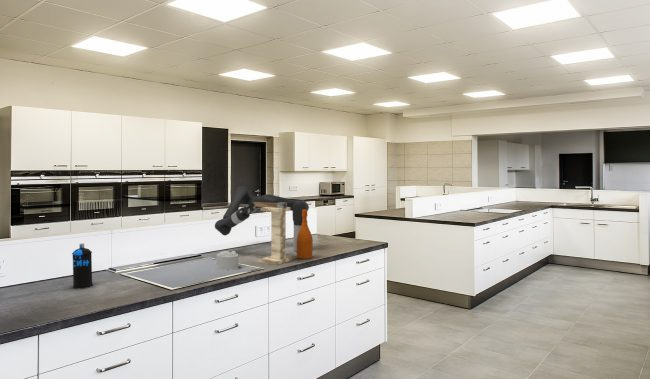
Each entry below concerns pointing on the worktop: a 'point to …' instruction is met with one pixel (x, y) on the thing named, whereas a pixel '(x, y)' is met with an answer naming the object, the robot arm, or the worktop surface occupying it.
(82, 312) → the worktop surface
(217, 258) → the lumpy-topped squat cylinder
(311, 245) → the wine bottle
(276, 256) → the stand
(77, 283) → the aerosol can
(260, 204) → the rod
